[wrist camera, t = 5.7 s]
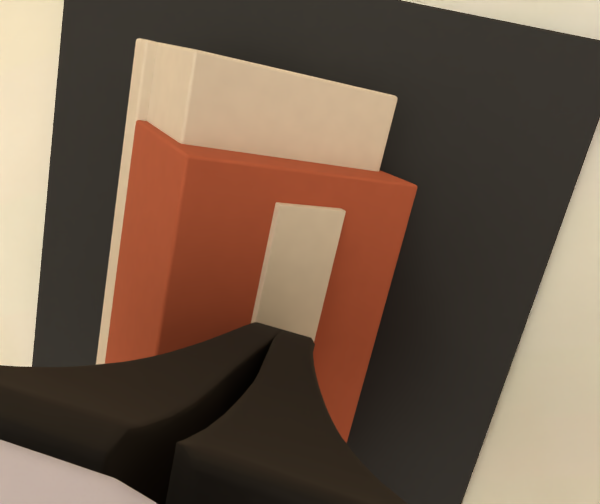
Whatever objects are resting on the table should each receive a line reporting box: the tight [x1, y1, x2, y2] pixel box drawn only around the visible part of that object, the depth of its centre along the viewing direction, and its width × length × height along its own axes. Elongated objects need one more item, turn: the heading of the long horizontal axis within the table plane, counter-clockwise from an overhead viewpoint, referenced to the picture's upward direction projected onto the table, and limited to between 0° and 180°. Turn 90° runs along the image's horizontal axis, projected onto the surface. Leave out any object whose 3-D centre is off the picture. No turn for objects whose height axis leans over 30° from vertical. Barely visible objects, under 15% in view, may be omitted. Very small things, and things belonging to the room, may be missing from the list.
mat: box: [32, 0, 600, 504], centre depth 19 cm, size 18×16×1 cm
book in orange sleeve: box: [96, 38, 417, 443], centre depth 15 cm, size 12×5×6 cm
